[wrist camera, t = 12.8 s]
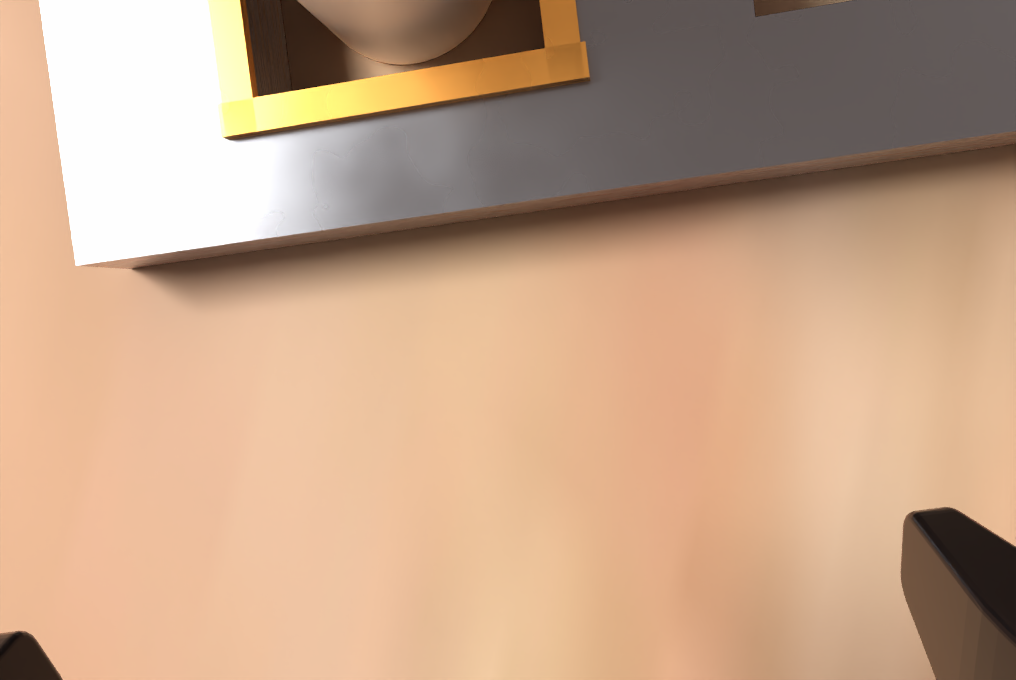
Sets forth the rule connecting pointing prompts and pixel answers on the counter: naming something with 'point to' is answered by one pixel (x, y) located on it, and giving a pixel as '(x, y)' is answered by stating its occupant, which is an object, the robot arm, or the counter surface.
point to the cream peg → (399, 26)
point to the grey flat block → (493, 115)
